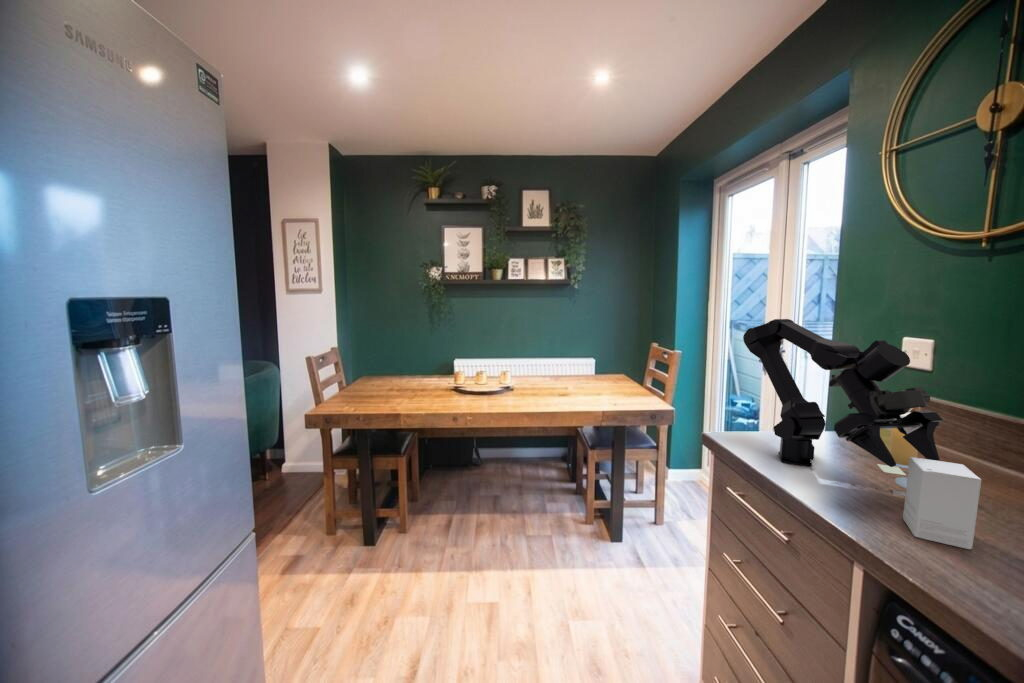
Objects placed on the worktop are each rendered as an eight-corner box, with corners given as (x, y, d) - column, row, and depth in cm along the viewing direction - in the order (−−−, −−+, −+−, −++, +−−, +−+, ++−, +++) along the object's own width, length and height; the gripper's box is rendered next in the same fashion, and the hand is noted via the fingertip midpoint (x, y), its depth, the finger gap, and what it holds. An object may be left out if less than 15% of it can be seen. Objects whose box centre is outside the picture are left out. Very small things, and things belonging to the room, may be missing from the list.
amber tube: (892, 463, 99) (897, 415, 98) (884, 456, 104) (889, 410, 102) (920, 467, 97) (926, 418, 95) (911, 459, 101) (917, 412, 100)
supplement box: (973, 551, 68) (983, 479, 66) (913, 537, 72) (921, 469, 70) (956, 529, 74) (965, 463, 72) (901, 517, 78) (908, 455, 76)
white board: (893, 495, 86) (894, 489, 86) (859, 454, 108) (859, 449, 108) (972, 509, 81) (973, 502, 81) (919, 463, 102) (920, 458, 102)
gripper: (851, 373, 78) (906, 449, 69) (937, 371, 80) (1002, 444, 70) (814, 402, 87) (858, 473, 77) (892, 399, 89) (945, 468, 79)
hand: (915, 465), depth 76 cm, fingers open, 9 cm apart
